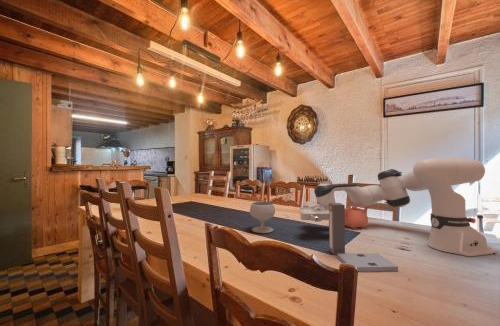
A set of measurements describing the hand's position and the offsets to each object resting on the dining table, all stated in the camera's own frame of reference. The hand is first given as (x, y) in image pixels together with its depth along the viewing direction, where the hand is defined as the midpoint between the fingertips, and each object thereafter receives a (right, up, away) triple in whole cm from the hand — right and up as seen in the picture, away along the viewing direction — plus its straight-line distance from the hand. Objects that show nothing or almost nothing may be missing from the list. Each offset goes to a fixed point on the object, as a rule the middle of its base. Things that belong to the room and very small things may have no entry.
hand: (326, 218), depth 106 cm
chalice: (-29, -12, +20) cm, 37 cm away
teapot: (+26, -11, +27) cm, 39 cm away
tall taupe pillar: (0, -11, -12) cm, 16 cm away
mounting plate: (+7, -11, -23) cm, 26 cm away
